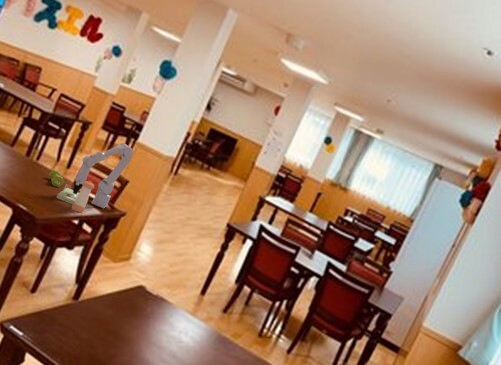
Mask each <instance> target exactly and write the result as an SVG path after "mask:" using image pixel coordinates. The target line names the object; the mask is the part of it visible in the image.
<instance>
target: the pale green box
mask: <svg viewBox="0 0 501 365" xmlns="http://www.w3.org/2000/svg"><path fill="white" fill-rule="evenodd" d="M73 190H74V189H72V185H71V184H69V183H66V184H65V186H64V188H63V190H62V191H60V192H59V193H57V195H56V198H57V199H58V200H61V201H63V202H65V203H68V204H71V205H73V203H74V202H75V200H76V199H73V198H71V197H70V195H72V194H74V193H73ZM79 193H80V191H78V193H77V194H74V195H76V198H77V196H78V194H79Z"/></svg>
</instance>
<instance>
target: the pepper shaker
mask: <svg viewBox="0 0 501 365" xmlns="http://www.w3.org/2000/svg"><path fill="white" fill-rule="evenodd" d="M82 185H83V186H82V187H81V188H80V190H79V194H78V196H77V198H76V200H75V202H74V203H73V204H71V205H72V206H71V209H72V210H73V211H75V212H77V211H78V212H77V213H84V212H85V209H86V205H87V203H88V201H89V197H90V194H91V191H92V190H93V189H95V184H94V183H93V182H92V181H91V180H88V181H87V180H86V181H84V182H83V183H82Z"/></svg>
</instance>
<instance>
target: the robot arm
mask: <svg viewBox="0 0 501 365" xmlns="http://www.w3.org/2000/svg"><path fill="white" fill-rule="evenodd" d="M116 154H118V155H120V156H121V159H120V161H119V162H118V163H117V165H115V167H114V168H113V169H112V171H111V172H110V174H109V175H108V176H107V177H105V178H103V179H102V180H101V181H99V182H98V184H97V187H98V188H97V191H96V194H95V195H94V198H93V200H92V201H91V202H90V204H92V205H95V206H97V207H99V208H102V209H104V208H105V207H108V204H109V201H110V199H111V195H110V194H111V193H112V192H113V189H114V187H115V182H116V181H117V180H118V179H119V177H120V176H121V174H122V173H123V172H124V170H125V169H126V168H127V167H128V165H129V164H130V163H131V161H132V157H133V156H134V150H133V148H132V147H131V146H129V145H127V144H126V143H124V142H122V143H120V144H117V145H116V146H114V147H112V148H110V149H107V150H106V151H97V152H96V153H94V154H90V155H86V156H84V157H83V158H82V164H81V167H80V168H79V169H80V170H79V171H78V173H77V176H76V177H74V178H73V180H74V182H73V189H72V190H73V193H74V194H77V193H78V192H80V191H81V189H82V187H83V185H82V183H83V182H84V181H87V178H88V175H89V173H90V171H91V168H93V167H94V166H95V164H98V163H100V162H102V161H104V160H106V158H108V157H111V156H113V155H116ZM105 209H106V208H105Z"/></svg>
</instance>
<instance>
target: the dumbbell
mask: <svg viewBox="0 0 501 365" xmlns="http://www.w3.org/2000/svg"><path fill="white" fill-rule="evenodd" d="M48 175H49V180H51V185H52V186H53V187H57V188H59V187H61V186H62V185H64V178H63V176H62V174H61V172H60V171H59V170H56V169H53V170H52V171H50V172H49V174H48Z"/></svg>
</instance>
